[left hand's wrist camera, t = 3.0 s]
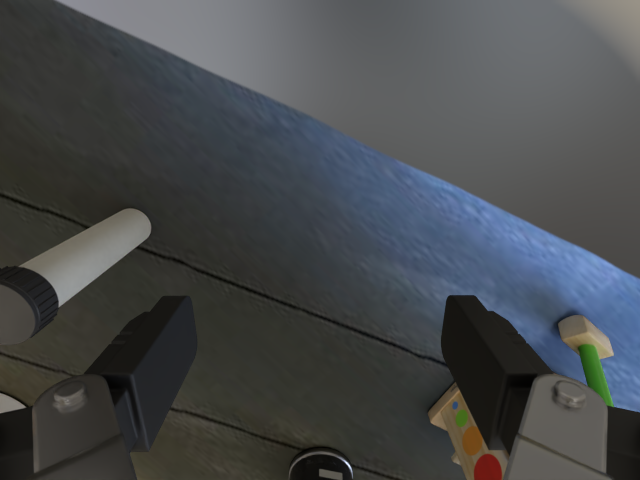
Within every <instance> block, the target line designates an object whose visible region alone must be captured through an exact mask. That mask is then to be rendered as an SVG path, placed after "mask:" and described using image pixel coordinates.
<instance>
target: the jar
mask: <svg viewBox="0 0 640 480" xmlns="http://www.w3.org/2000/svg"><path fill="white" fill-rule="evenodd" d="M150 233H151V223H150V221H149V219H148V217H147V216H146V215H145V214H144V213H142V212H141V211H139V210H136V209H131V208H129V209H124V210H122V211H120V212H118V213H116V214H114V215H113V216H111V217H109V218H107V219H105V220H103V221H101V222H100V223H98V224H96V225H94V226H92V227H90V228H89V229H87V230H85V231H83V232H81V233H79V234H77V235H76V236H74V237H72V238H70V239H68V240H66V241H64V242H63V243H61V244H59V245H57V246H55V247H53V248H52V249H50V250H48V251H46V252H44V253H42V254H40V255H39V256H37V257H35V258H33V259H31V260H29V261H27V262H26V263H24V264H22V265H20V266H18V267H25V268H27V269H30V270H33V271H35V272H37V273H39V274H40V275H42V276H43V277H44V278H46V279H47V280H48V281H49V282H50V284H51V285H52V286H53V288H54V289H55V291H56V293H57V296H58V300H59V307H60V306H61V305H62V304H64V303H65V302H66V301H68V300H69V299H70V298H71V297H73V296H74V295H75V294H77V293H78V292H79V291H80V290H82V289H83V288H84V287H86V286H87V285H88V284H89V283H91V282H92V281H93V280H94V279H96V278H97V277H98V276H100V275H101V274H102V273H103V272H105V271H106V270H107V269H109V268H110V267H111V266H112V265H114V264H115V263H116V262H118V261H119V260H120V259H121V258H123V257H124V256H125V255H126V254H128V253H129V252H130V251H132V250H133V249H134V248H135V247H137V246H138V245H139V244H141V243H142V242H143V241H144V240H146V239H147V238H148V237H149V235H150ZM59 307H58V308H59Z"/></svg>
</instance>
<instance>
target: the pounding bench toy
mask: <svg viewBox="0 0 640 480" xmlns="http://www.w3.org/2000/svg"><path fill="white" fill-rule="evenodd" d="M558 327H559V331H560V336H561V339H562V341H563V342H564V343H565V344H567V345H568V346H569V347H570V348H571V349H572V350H573V351H575V352H576V353H577V354H578V355H579V356H580V358H581V362H582V366H583V370H584V373H585V377H586V381H587V385H588V387H590V388H591V389H593V390H594V391H595V392H596V393H598V394H599V395H600V396H601V398H602V399H603V400H604V402H605V403H606V405H607V406H612V407H614V405H613V402H612V399H611V395H610V392H609V389H608V385H607V382H606V379H605V375H604V372H603V369H602V365H601V362H600V359H602V358H606V357H610V356H613V355H614V353H613V350H612V347H611V344H610V341H609V339H608V337H607V336H605V335H604V334H603V333H602V332H601V331H600V330H599V329H598V328H597V327H595V326H594V325H593V324H592V323H591V322H590V321H589V320H588V319H586V318H585V317H584V316H582V315H573V316H570V317H567V318H565V319H563V320H562V321H560V322H559V323H558ZM553 373H554V372H553ZM554 374H556V373H554ZM556 375H558V374H556ZM428 416H429V419H430V421H431V423H432V424H434V425H436V426H438V427H440V428H442V429H444V430H446V431H448V433H449V436H450V438H451V441H452V443H453V446H454V448H455V451H456V452H455V453H454V454H453V456H452V457H451V459H452V461H453V462H455V463H457V464H459V465H461V466H462V469H463V471H464V474H465V476H466V479H467V480H503V477H504V474H505V470H506V467H507V464H508V461H509V457H510V456H509V454H508V452H507V450H488V448H487V446H486V444H485V442H484V440H483V438H482V435H481V433H480V431H479V429H478V427H477V425H476V423H475V421H474V419H473V417H472V415H471V413H470V411H469V409H468V407H467V405H466V403H465V401H464V398H463V396H462V394H461V392H460V390H459V388H458V386H457V384H456V382H455V383H454V384H453V385H452V386H451V387H450V388H449V389H448V390H447V391H446V393H445V394H444V395H443V396H442V397H441V398H440V399H439V400H438V401H437V403H436V404H435V405H434V406H433V407H432V408H431V409H430V410H429V412H428Z"/></svg>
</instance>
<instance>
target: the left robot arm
mask: <svg viewBox="0 0 640 480" xmlns="http://www.w3.org/2000/svg"><path fill="white" fill-rule="evenodd" d="M441 348H442V354H443V357H444V359H445V361H446V364H447V366H448V368H449V370H450V372H451V374H452V376H453V378H454V380H455V382H456V384H457V386H458V388H459V390H460V392H461V394H462V396H463V398H464V401H465V403H466V405H467V407H468V409H469V411H470V413H471V415H472V417H473V419H474V421H475V423H476V425H477V427H478V429H479V431H480V433H481V435H482V438H483V440H484V442H485V444H486V446H487V448H488V450H507V452H508V454H509V456H510V457H509V461H508V464H507V467H506V470H505V474H504V477H503V480H640V413H639V412H634V411H630V410H625V409H621V408H616V407H612V406H607V405H606V403H605V402H604V400H603V399H602V398H601V396H600V395H599V394H598V393H596V392H595V391H594V390H593V389H591V388H590V387H588V386H587V385H585V384H583V383H581V382H579V381H577V380H575V379H572V378H569V377H566V376H562V375H556V374H554V373H553V372H552V371H551V370H550V368H549V367H548V366H547V365H546V364H545V363H544V362H543V360H542V359H541V358H540V357H539V356H538V355H537V353H536V352H535V351H534V350H533V349H532V348H531V347H530V345H529V344H528V343H526V341H525V340H524V338H523V337H522V336H521V335H520V334H518V332H517V330H516V329H515V328H514V327H513V326H512V325H511V323H510V322H509V321H508V320H506V319H505V318H503V317H501V316H500V315H498V314H497V313H495V312H494V311H487V310H486V308H485V307H484V306H483V305H482V303H481V302H480V301H479V300H478V298H477V297H476V296H474V295H450V296H448V298H447V301H446V306H445V314H444V321H443V328H442V335H441ZM196 350H197V335H196V328H195V321H194V314H193V306H192V301H191V298H190V297H189V296H163V297H162V298H161V299H160V300H159V301H158V303H157V304H156V305H155V306H154V307H153V309H152V310H151V311H150V312H144V313H142V314H141V315H139V316H137V317H136V318H134V319H133V320H131V321H129V323H128V324H127V325H126V326H125V327H124V328H123V329H122V331H121V332H120V335H117V336H116V337H115V339H114V340H113V341H112V344H109V345H108V347H107V348H106V349H105V350H104V351H103V352H102V353H101V355H100V356H99V357H98V358H97V359H96V360H95V361H94V363H93V364H92V365H91V366H90V367H89V368H88V370H87V371H86V372H85V373H84V374H83V375H78V376H74V377H71V378H68V379H65V380H63V381H61V382H59V383H57V384H55V385H53V386H52V387H50V388H49V389H47V390H46V391H45V392H44V393H42V394H41V395H40V396H39V398H38V399H37V400H36V402H35V403H34V405H33V406H30V407H26V408H22V409H17V410H13V411H8V412H4V413H0V480H137V477H136V474H135V470H134V467H133V464H132V461H131V457H130V452H149V450H150V448H151V446H152V444H153V442H154V440H155V438H156V436H157V433H158V431H159V429H160V427H161V425H162V423H163V421H164V419H165V417H166V415H167V413H168V411H169V409H170V407H171V405H172V403H173V401H174V399H175V397H176V395H177V393H178V391H179V389H180V387H181V385H182V383H183V381H184V379H185V377H186V375H187V373H188V371H189V369H190V366H191V364H192V362H193V360H194V358H195V355H196ZM289 480H353V471H352V465H351V463H350V461H349V460H348V458H347V457H346V456H345V455H343V454H342V453H340V452H338V451H336V450H333V449H328V448H313V449H309V450H306V451H304V452H302V453H300V454H299V455H297V456H296V457H295V458H294V459H293V461H292V462H291V465H290V469H289Z"/></svg>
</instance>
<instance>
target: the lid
mask: <svg viewBox="0 0 640 480" xmlns="http://www.w3.org/2000/svg"><path fill="white" fill-rule="evenodd" d="M58 307H59V300H58V296H57V293H56V291H55V289H54V288H53V286H52V285H51V284H50V282H49V281H48V280H47V279H46V278H44V277H43V276H42V275H40V274H39V273H37V272H35V271H33V270H30V269H27V268H25V267H16V266H14V267H8V266H6V267H4V268H3V269H1V268H0V344H1V345H15V344H19V343H22V342H24V341H26V340H27V339H29V338H31V337H33V336H34V335H35V334H37V333H38V332H39V331H40V330H42V329H43V328H44V327H45V326H46V325H48V324H49V323H50V322H51V321H53V320H54V319H53V318H54V317H55V316H56V315H57V311H58V309H59V308H58Z"/></svg>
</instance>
